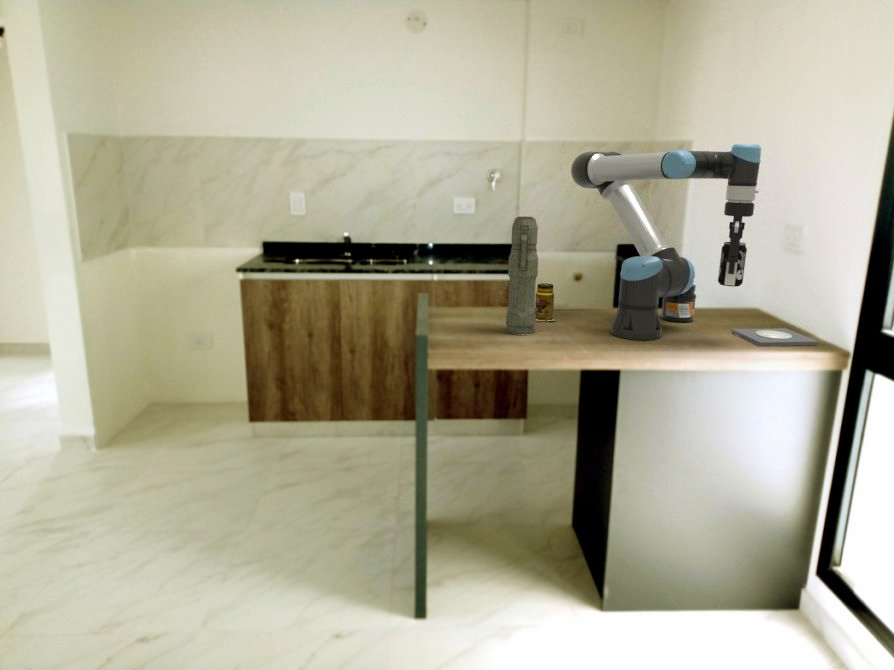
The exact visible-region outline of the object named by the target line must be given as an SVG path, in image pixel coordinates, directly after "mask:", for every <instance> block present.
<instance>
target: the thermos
mask: <svg viewBox="0 0 894 670" xmlns="http://www.w3.org/2000/svg"><path fill="white" fill-rule="evenodd" d="M538 230H539V228H538V224H537V221H536V218H534V217H533V216H517V217H516V218H514V220H513V224H512V226H511V248H510V254H509V256H508V271H507V272H508V273H507V275H508V277H509V284H508V285H509V287H508V289H509V290H508V308H507V311H506V319H505V320H506V321H505V323H506V324H505V325H506V333H507V332H509V333H512V334H511V335H513V334H520V335H519V336H522V335H521V334H531V333H534V334H535V332H536V331H535V326H536V322H537V321H536V314H535V301H536V282H537V281H536V279H537V278H538V276H539V275H538V271H539V257H538V252H537V250H538V249H537V244H538V233H539V232H538ZM509 333H508V334H509ZM531 335H532V334H531Z"/></svg>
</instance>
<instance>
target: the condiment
mask: <svg viewBox="0 0 894 670" xmlns="http://www.w3.org/2000/svg"><path fill="white" fill-rule="evenodd" d="M554 304H555V293H554V284H552V283H547V282H546V283H542V282H540V283H538V284H537V289H536V291H535V305H534V310H535V314H536V319H538V320H545V321H547V320H552V319H553V316H554V309H555V307H554Z"/></svg>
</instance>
